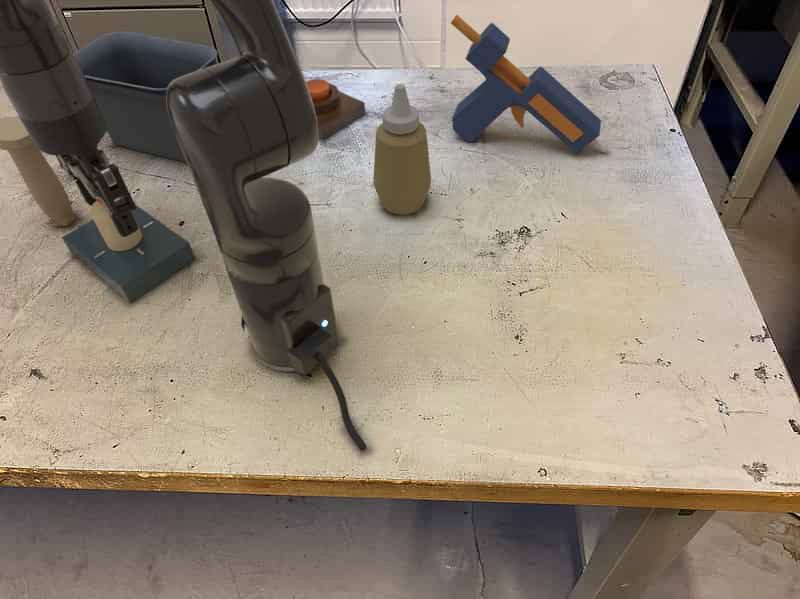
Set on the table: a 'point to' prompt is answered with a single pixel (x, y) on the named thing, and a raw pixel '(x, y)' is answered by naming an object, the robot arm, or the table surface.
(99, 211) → the dial
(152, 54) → the storage bin
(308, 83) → the button
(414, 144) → the squeeze bottle
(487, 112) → the glue gun
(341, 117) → the button block
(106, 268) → the dial panel
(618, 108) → the table surface
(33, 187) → the handle
